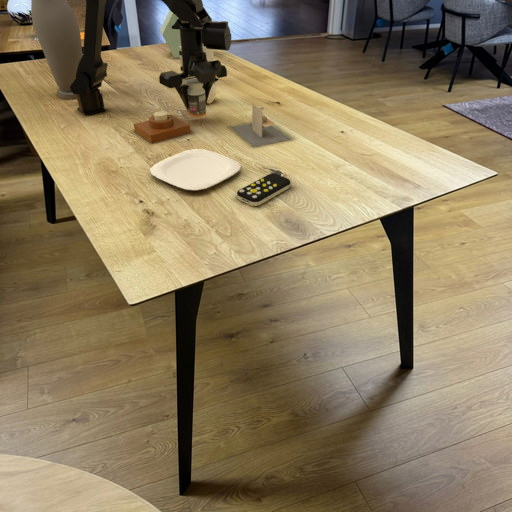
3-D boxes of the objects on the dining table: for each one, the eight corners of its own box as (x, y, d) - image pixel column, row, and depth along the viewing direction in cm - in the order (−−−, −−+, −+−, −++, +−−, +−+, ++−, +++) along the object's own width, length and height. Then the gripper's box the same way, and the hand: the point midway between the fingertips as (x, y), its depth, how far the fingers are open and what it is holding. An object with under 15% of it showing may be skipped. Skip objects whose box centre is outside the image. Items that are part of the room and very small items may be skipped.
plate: (196, 150, 123) (195, 144, 122) (250, 171, 114) (250, 164, 112) (141, 175, 111) (140, 169, 110) (196, 200, 102) (195, 194, 101)
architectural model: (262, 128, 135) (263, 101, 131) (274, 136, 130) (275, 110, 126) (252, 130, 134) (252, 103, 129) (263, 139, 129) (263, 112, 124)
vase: (94, 97, 155) (69, -27, 134) (52, 102, 151) (19, -25, 130) (89, 85, 165) (65, -32, 144) (50, 90, 161) (19, -30, 140)
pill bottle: (182, 117, 137) (179, 82, 131) (194, 111, 141) (191, 76, 135) (199, 120, 135) (197, 85, 129) (210, 114, 139) (208, 79, 133)
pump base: (151, 143, 126) (149, 128, 124) (134, 131, 133) (132, 117, 130) (190, 132, 132) (189, 118, 130) (172, 121, 139) (171, 108, 136)
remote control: (293, 187, 107) (293, 179, 106) (255, 208, 100) (255, 200, 99) (272, 178, 111) (272, 170, 109) (234, 198, 103) (233, 190, 102)
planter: (189, 63, 204) (213, 18, 196) (193, 68, 198) (218, 21, 190) (153, 42, 195) (177, -7, 187) (156, 47, 189) (180, -3, 181)
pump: (158, 123, 128) (157, 116, 127) (152, 119, 131) (151, 112, 130) (170, 120, 130) (169, 113, 129) (163, 116, 132) (163, 110, 131)
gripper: (176, 59, 117) (182, 121, 127) (238, 48, 126) (238, 106, 136) (155, 50, 124) (161, 109, 134) (214, 40, 133) (216, 96, 143)
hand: (195, 105), depth 136 cm, fingers closed on pill bottle, 5 cm apart
